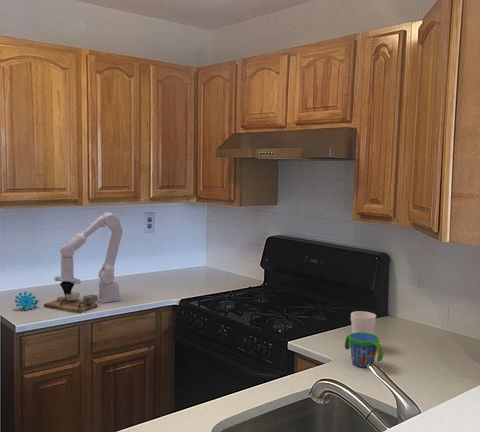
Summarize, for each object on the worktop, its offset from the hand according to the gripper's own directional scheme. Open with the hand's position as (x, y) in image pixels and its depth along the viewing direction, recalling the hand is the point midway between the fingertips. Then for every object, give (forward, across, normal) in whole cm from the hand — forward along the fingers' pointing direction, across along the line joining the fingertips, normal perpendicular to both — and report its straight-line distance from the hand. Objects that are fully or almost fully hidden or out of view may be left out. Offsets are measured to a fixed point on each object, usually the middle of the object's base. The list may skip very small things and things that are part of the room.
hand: (67, 296), depth 262 cm
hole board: (+3, +5, -4) cm, 8 cm away
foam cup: (+4, +142, +6) cm, 142 cm away
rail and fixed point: (+2, +5, -3) cm, 7 cm away
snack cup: (+4, +146, -11) cm, 146 cm away
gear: (+4, -10, -16) cm, 19 cm away
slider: (+1, +3, -3) cm, 5 cm away
